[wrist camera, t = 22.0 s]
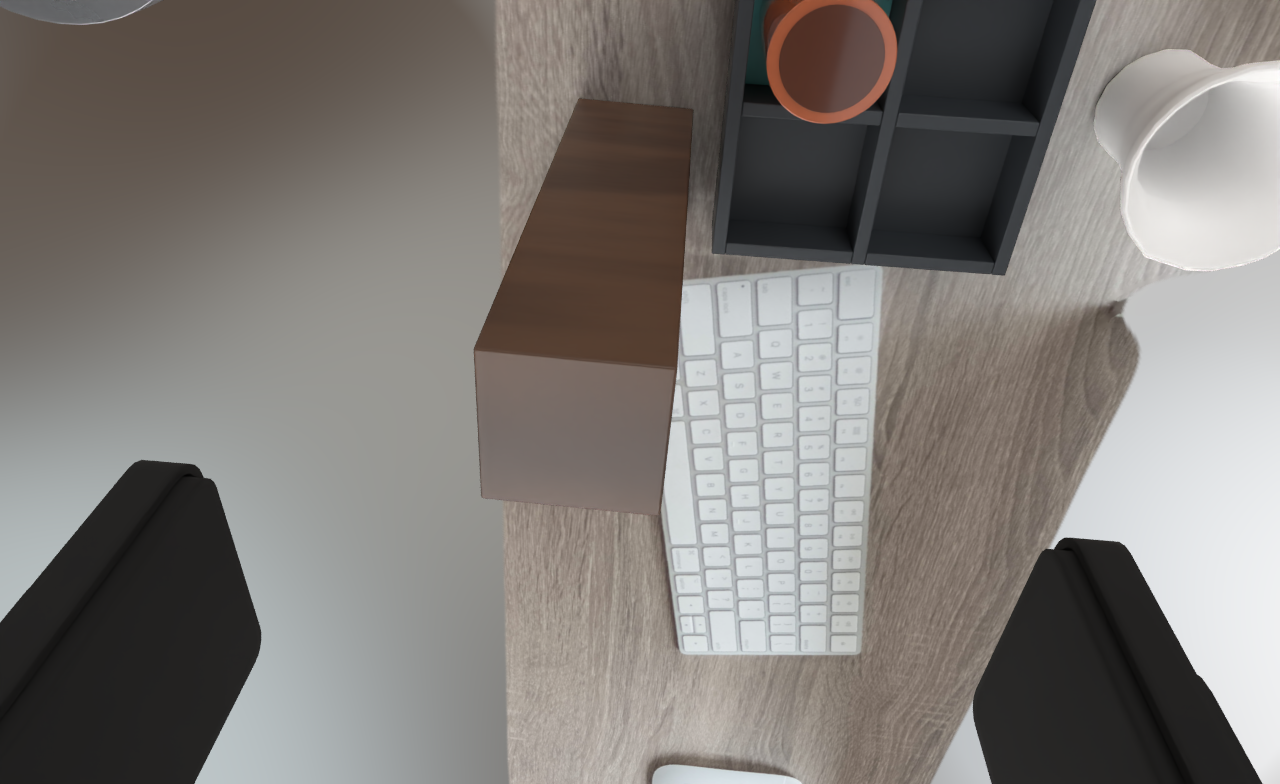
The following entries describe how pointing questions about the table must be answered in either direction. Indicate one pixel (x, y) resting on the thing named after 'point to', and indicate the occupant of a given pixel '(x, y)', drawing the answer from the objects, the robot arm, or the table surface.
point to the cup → (1196, 158)
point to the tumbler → (827, 56)
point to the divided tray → (902, 142)
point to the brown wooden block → (590, 319)
